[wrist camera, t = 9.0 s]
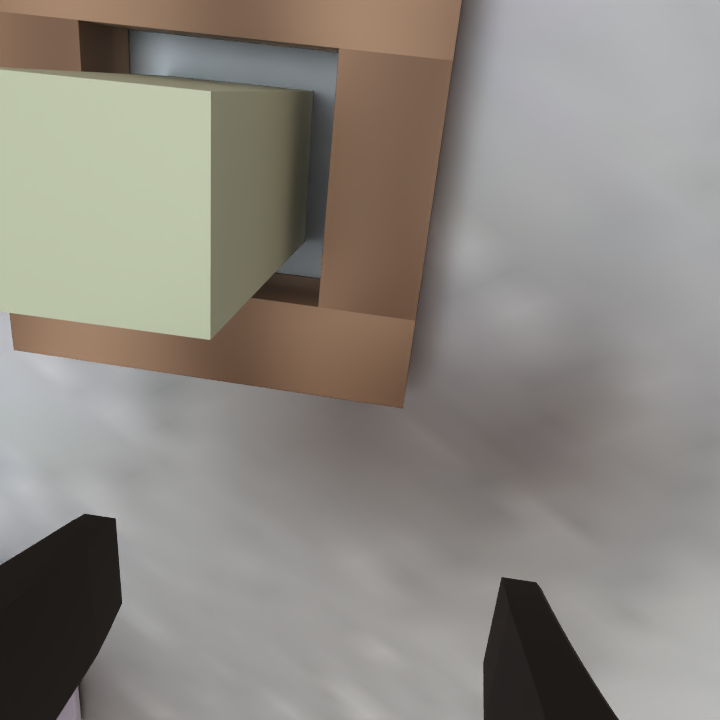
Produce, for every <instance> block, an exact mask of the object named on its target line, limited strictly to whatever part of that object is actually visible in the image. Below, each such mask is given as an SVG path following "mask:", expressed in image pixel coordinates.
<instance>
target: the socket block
mask: <svg viewBox="0 0 720 720" xmlns="http://www.w3.org/2000/svg"><path fill="white" fill-rule="evenodd" d="M461 3H462V0H0V67H4V68H23V69H43V70H62V71H81V72H101V73H120V74H130V68H129V39H128V29H129V30H138V31H147V32H156V33H165V34H174V35H184V36H193V37H202V38H211V39H220V40H230V41H239V42H248V43H257V44H266V45H276V46H285V47H294V48H303V49H312V50H322V51H331V52H339V57H338V69H337V82H336V94H335V106H334V119H333V131H332V143H331V155H330V168H329V180H328V192H327V205H326V217H325V229H324V242H323V254H322V266H321V279H317V278H309V277H302V276H294V275H287V274H280V273H274V274H273V275H272V276H271V277H270V278H269V279H268V280H267V281H266V282H265V283H264V284H263V285H262V287H261V288H260V289H259V290H258V291H257V292H256V293H255V294H254V295H253V296H252V297H251V298H250V299H249V300H248V301H247V302H246V303H245V304H244V305H243V306H242V307H241V308H240V310H239V311H238V312H237V313H236V314H235V315H234V316H233V317H232V318H231V319H230V320H229V321H228V322H227V323H226V324H225V325H224V326H223V327H222V328H221V329H220V330H219V331H218V333H217V334H216V335H215V336H214V337H213V338H212V339H211V340H207V339H199V338H192V337H185V336H177V335H170V334H163V333H155V332H148V331H140V330H133V329H126V328H118V327H111V326H104V325H96V324H89V323H81V322H74V321H67V320H59V319H52V318H44V317H37V316H30V315H22V314H15V313H10V321H11V329H12V338H13V346H14V350H18V351H24V352H31V353H38V354H44V355H51V356H58V357H64V358H71V359H78V360H84V361H91V362H98V363H104V364H111V365H118V366H124V367H131V368H138V369H144V370H151V371H158V372H164V373H171V374H177V375H184V376H191V377H197V378H204V379H211V380H217V381H224V382H231V383H237V384H244V385H251V386H257V387H264V388H271V389H277V390H284V391H291V392H297V393H304V394H311V395H317V396H324V397H331V398H337V399H344V400H351V401H357V402H364V403H371V404H377V405H384V406H391V407H397V408H403V403H404V396H405V389H406V382H407V376H408V369H409V362H410V355H411V348H412V341H413V334H414V327H415V320H416V314H417V307H418V300H419V293H420V286H421V279H422V272H423V265H424V258H425V251H426V244H427V238H428V231H429V224H430V217H431V210H432V203H433V196H434V189H435V182H436V175H437V169H438V162H439V155H440V148H441V141H442V134H443V127H444V120H445V113H446V106H447V99H448V93H449V86H450V79H451V72H452V65H453V58H454V51H455V44H456V37H457V30H458V24H459V17H460V10H461Z"/></svg>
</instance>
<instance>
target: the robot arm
mask: <svg viewBox="0 0 720 720" xmlns="http://www.w3.org/2000/svg"><path fill="white" fill-rule="evenodd" d="M121 604H122V595H121V582H120V569H119V556H118V543H117V530H116V519H115V518H109V517H102V516H96V515H89V514H84V515H82V516H80V517H78V518H77V519H75V520H73V521H71V522H70V523H68V524H66V525H65V526H63V527H62V528H60V529H58V530H57V531H55V532H53V533H52V534H50V535H49V536H47V537H45V538H44V539H42V540H41V541H39V542H37V543H36V544H34V545H33V546H31V547H29V548H28V549H26V550H25V551H23V552H21V553H20V554H18V555H16V556H15V557H13V558H11V559H10V560H8V561H6V562H5V563H3V564H2V565H0V720H81V712H80V702H79V691H78V685H79V683H80V682H81V680H82V679H83V677H84V675H85V674H86V672H87V671H88V669H89V667H90V666H91V664H92V663H93V661H94V659H95V658H96V656H97V654H98V653H99V651H100V648H101V646H102V644H103V642H104V640H105V638H106V636H107V634H108V632H109V630H110V628H111V626H112V624H113V622H114V619H115V617H116V615H117V613H118V611H119V609H120V606H121ZM483 674H484V720H619V719H618V718H617V716H616V715H615V713H614V712H613V711H612V709H611V707H610V706H609V704H608V703H607V701H606V700H605V698H604V697H603V695H602V694H601V692H600V691H599V689H598V687H597V686H596V684H595V683H594V681H593V679H592V678H591V676H590V675H589V673H588V671H587V670H586V668H585V667H584V665H583V663H582V662H581V660H580V658H579V657H578V655H577V653H576V652H575V650H574V648H573V647H572V645H571V643H570V641H569V640H568V638H567V636H566V634H565V633H564V631H563V629H562V627H561V625H560V624H559V622H558V620H557V618H556V616H555V614H554V613H553V611H552V609H551V607H550V605H549V603H548V601H547V599H546V597H545V595H544V593H543V591H542V589H541V588H540V587H539V585H538V584H537V583H536V582H530V581H523V580H517V579H510V578H504V577H502V578H501V583H500V587H499V592H498V597H497V601H496V606H495V611H494V615H493V620H492V625H491V629H490V634H489V639H488V643H487V648H486V653H485V657H484V662H483Z"/></svg>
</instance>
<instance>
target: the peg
mask: <svg viewBox="0 0 720 720" xmlns="http://www.w3.org/2000/svg"><path fill="white" fill-rule="evenodd" d="M312 107H313V91H309V90H299V89H289V88H280V87H270V86H260V85H250V84H241V83H231V82H221V81H211V80H202V79H192V78H182V77H172V76H159V75H140V74H120V73H101V72H81V71H62V70H43V69H23V68H4V67H0V312H8V313H15V314H22V315H30V316H37V317H44V318H52V319H59V320H67V321H74V322H81V323H89V324H96V325H104V326H111V327H118V328H126V329H133V330H140V331H148V332H155V333H163V334H170V335H177V336H185V337H192V338H199V339H207V340H211V339H212V338H213V337H214V336H215V335H216V334H217V333H218V331H219V330H220V329H221V328H222V327H223V326H224V325H225V324H226V323H227V322H228V321H229V320H230V319H231V318H232V317H233V316H234V315H235V314H236V313H237V312H238V311H239V310H240V308H241V307H242V306H243V305H244V304H245V303H246V302H247V301H248V300H249V299H250V298H251V297H252V296H253V295H254V294H255V293H256V292H257V291H258V290H259V289H260V288H261V287H262V285H263V284H264V283H265V282H266V281H267V280H268V279H269V278H270V277H271V276H272V275H273V274H274V273H275V272H276V271H277V270H278V269H279V268H280V267H281V266H282V265H283V264H284V262H285V261H286V260H287V259H288V258H289V257H290V256H291V255H292V254H293V253H294V252H295V251H296V250H297V249H298V248H299V247H300V246H301V245H302V244H303V243H304V241H305V225H306V208H307V191H308V174H309V157H310V141H311V124H312Z"/></svg>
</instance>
